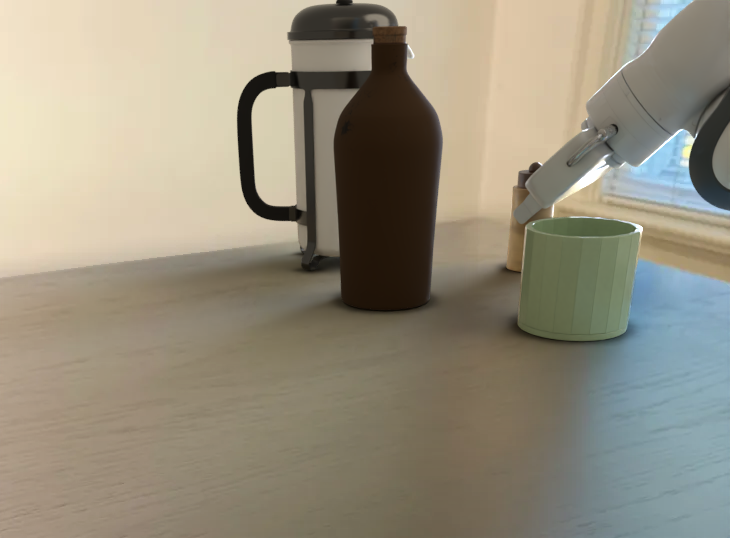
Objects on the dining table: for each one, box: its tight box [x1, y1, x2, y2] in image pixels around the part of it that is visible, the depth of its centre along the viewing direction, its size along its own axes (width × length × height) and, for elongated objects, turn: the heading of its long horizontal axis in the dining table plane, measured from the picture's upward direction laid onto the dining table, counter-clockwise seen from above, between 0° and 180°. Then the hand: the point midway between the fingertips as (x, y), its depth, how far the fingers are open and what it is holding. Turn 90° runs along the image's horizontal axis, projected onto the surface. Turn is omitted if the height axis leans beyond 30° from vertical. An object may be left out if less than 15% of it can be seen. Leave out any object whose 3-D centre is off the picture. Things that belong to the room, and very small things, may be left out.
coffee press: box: [236, 0, 415, 272], centre depth 103 cm, size 17×16×30 cm
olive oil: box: [333, 25, 444, 311], centre depth 88 cm, size 11×11×25 cm
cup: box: [517, 216, 644, 342], centre depth 82 cm, size 10×10×9 cm
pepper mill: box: [505, 161, 555, 273], centre depth 102 cm, size 5×5×12 cm
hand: (526, 214), depth 102 cm, fingers closed on pepper mill, 5 cm apart
